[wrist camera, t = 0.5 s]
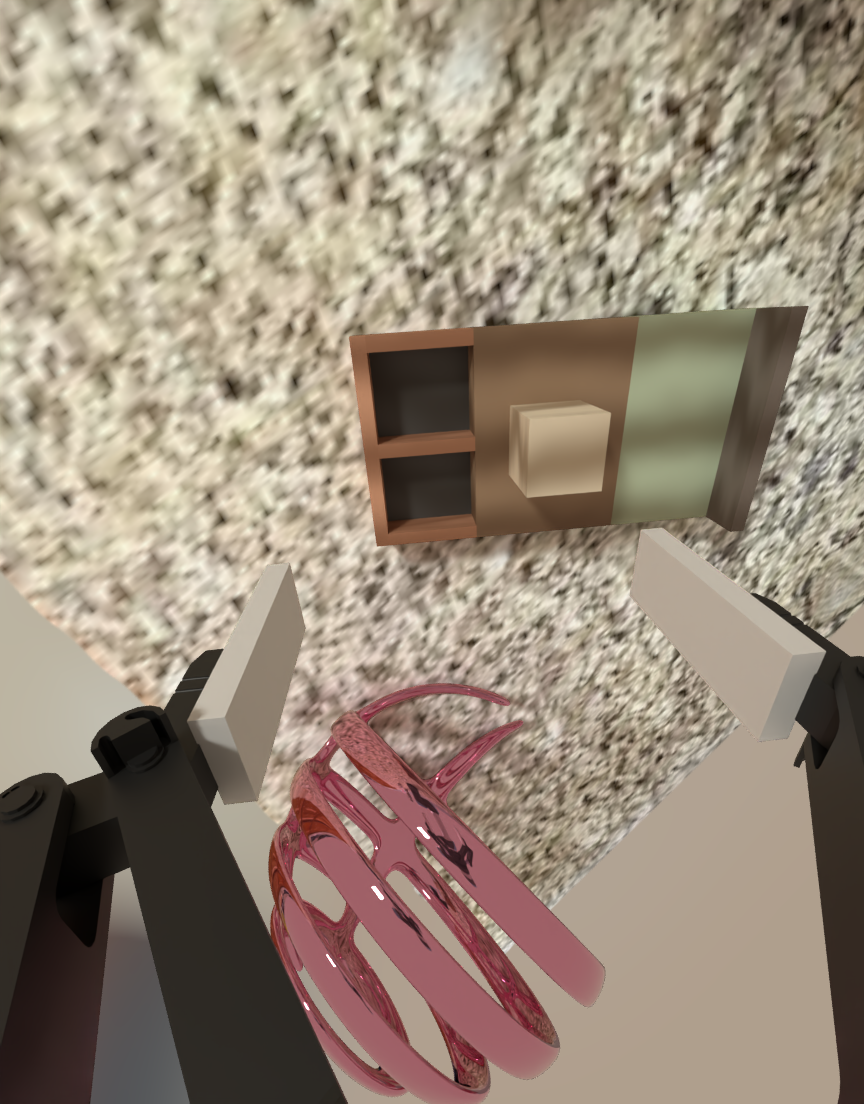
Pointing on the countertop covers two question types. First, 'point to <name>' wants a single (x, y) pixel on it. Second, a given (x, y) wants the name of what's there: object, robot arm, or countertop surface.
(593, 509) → the board
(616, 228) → the countertop surface
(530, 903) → the spiral basket
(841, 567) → the countertop surface
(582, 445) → the maple block
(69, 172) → the countertop surface
